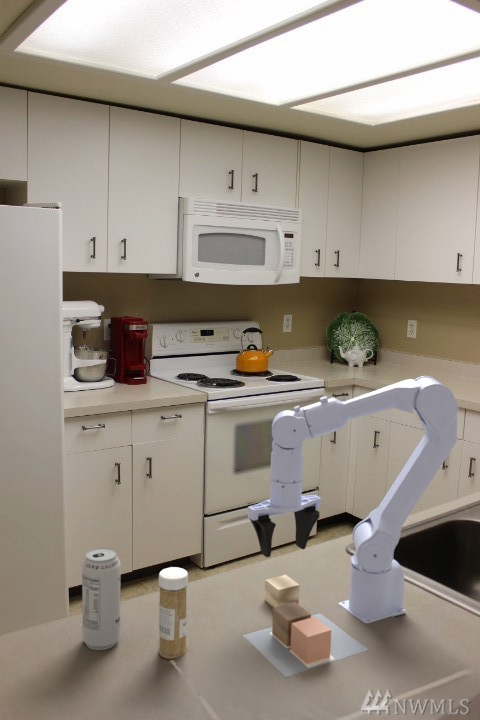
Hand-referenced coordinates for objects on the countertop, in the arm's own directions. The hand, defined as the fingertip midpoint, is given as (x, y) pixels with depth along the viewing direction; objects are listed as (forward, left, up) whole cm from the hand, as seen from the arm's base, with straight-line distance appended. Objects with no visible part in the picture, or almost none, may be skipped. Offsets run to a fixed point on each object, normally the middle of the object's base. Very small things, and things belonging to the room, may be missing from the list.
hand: (283, 551), depth 121 cm
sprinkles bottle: (+24, +5, -11) cm, 27 cm away
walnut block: (+5, +10, -10) cm, 15 cm away
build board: (+4, +13, -10) cm, 17 cm away
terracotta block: (+5, +16, -10) cm, 19 cm away
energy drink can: (+33, -3, -11) cm, 35 cm away
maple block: (0, 0, -10) cm, 11 cm away
